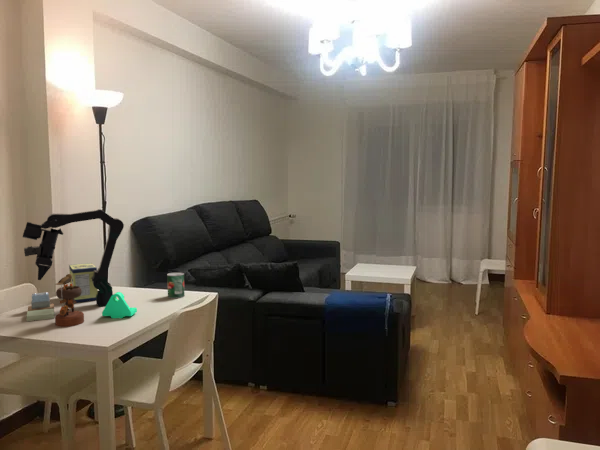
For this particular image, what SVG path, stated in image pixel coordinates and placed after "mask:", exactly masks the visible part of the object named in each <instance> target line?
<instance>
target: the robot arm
mask: <svg viewBox="0 0 600 450" xmlns="http://www.w3.org/2000/svg"><path fill="white" fill-rule="evenodd" d="M91 220H92V221H93V220H100V221H102V222H104V224H107V225H108V230H107V239H106V243H105V246H104V250H103V254H102V256H101V260H100V263H99V266H98V268H97V271H96V270H94V272H93V276H92V278H91V279H92V282H93V285H94V287H95V288H96V289H98V291H97V294H96V300H95V301H96V305H97V306H98V307H105V306H106V305H107V303H108V301H109V300H110V298H111V296H112V295H113V294H114V293H113V286H112V285H111V283H110V282H109V281H108V279H109V278H108V277H109V267H110V265H111V261H112V257H113V254H114V251H115V247H116V243H117V240H118V239H119V237H120V236H121V234H122V232H123V229H124V226H125V224H124V222H123V221H122V220H121V219H119V218H114V217H112V216H111V215H109V214H108V213H106V212H105V211H104V210H103V209H96V210H95V209H94V210H90V211H89V210H88V211H81V212H76V213H74V212H73V213H51V214H49V215H48V217H47V218H46V220H45V221H44V222H42V223H41V224H37V223H35V222H34V223H32V222H30V221H27V222H26V225H25V228H24V230H23V233H22V238H24V239H28V240H33V241H37V240H38V239H41V241H40V243H39V245H38V246H37V245H36V246H32V245H31V246H29V245H28V246H27V247H24V248H23V252H24V253H23V254H24V257H30V256H36V258H35V263H34V264H35V266H36V267H37V280H38V281H41V280H42V279H43V278H44V277H45V275H46V274H47V272H48V271H49V270H50V269H51V267H52V265H53V257H54V253H55V252H54V251H55V249H56V245H57V241H58V236H59V235H60V236H61V235H62V236H63V235H64V232H63V230H62V229H61V228H60V227H63V226H67V225H68V224H69V225H70V224H71V223H78V222H79V223H80V222H84V221H85V222H87V221H91ZM49 228H50V229H49ZM57 228H58V229H57ZM42 233H43V234H42ZM41 237H42V238H41Z"/></svg>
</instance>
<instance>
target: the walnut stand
mask: <svg viewBox="0 0 600 450" xmlns="http://www.w3.org/2000/svg"><path fill="white" fill-rule="evenodd" d="M53 308H54V309H55V304H54V303H50V307H47V308H38V309H32V305H28V306H27V311H34V310H44V309H53Z"/></svg>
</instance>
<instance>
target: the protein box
mask: <svg viewBox="0 0 600 450" xmlns="http://www.w3.org/2000/svg"><path fill="white" fill-rule="evenodd" d="M68 267H69V268H68V269H69V270H68V271H69V274H71V275H72V279H71V282H69V285H70V284H72V285H73V286H79V287H80V288H81V290H82V293H81V295H80V296H79V297H77V298H74V300H75V301H76V303H75V304H77V303H78V304H79V303H87V302H94V301H96V294H97V291H99V290H98V289H96V288H95V287H94V285H93V282H92V279H91V278H92V276H93V272H94V270H96V271H97V270H98V268H97V266H96V265H94V264H93V263H92V262H89V263H88V262H87V263H78V264H68Z"/></svg>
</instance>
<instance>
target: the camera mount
mask: <svg viewBox="0 0 600 450" xmlns="http://www.w3.org/2000/svg"><path fill="white" fill-rule="evenodd" d="M137 312H138V307H130V306H129V304H128V303H127V301H126V300H125V294H123V293H122V292H121V291H119V292H115V293H113V295H112V296H111V298H110V300H109V301H108V303H107V305H106V306H104V309H103V310H102V311H101V316H102V317H111V318H110V319H123V318H125V317H132V316H133V315H136V313H137Z"/></svg>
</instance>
